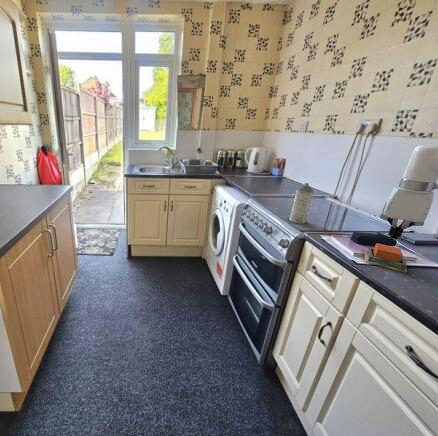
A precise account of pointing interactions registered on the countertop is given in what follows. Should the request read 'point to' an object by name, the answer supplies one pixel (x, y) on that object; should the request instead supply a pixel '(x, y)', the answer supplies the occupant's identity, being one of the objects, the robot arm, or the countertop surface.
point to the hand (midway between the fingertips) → (393, 237)
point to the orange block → (387, 253)
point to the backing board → (384, 261)
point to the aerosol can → (301, 204)
